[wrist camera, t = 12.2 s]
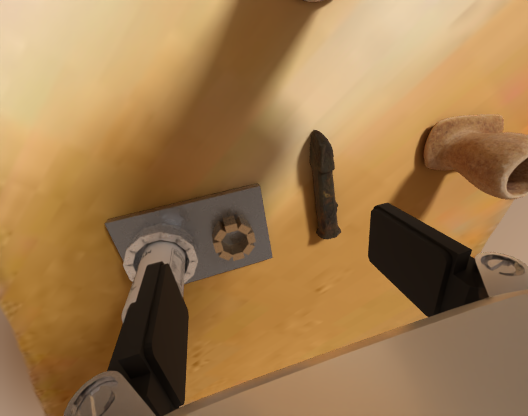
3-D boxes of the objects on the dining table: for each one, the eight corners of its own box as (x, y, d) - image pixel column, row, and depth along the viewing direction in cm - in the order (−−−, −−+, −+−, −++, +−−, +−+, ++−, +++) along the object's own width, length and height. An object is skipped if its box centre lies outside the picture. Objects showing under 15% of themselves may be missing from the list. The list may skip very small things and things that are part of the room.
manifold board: (257, 183, 39) (265, 191, 35) (270, 253, 45) (277, 267, 41) (108, 219, 35) (96, 233, 31) (142, 290, 41) (137, 310, 37)
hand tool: (332, 226, 47) (345, 238, 43) (314, 232, 46) (325, 244, 42) (328, 126, 39) (343, 128, 35) (305, 130, 39) (318, 133, 34)
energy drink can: (143, 234, 36) (114, 307, 23) (186, 233, 38) (181, 302, 24) (145, 267, 38) (119, 353, 25) (185, 266, 40) (181, 345, 26)
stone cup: (411, 179, 48) (496, 208, 34) (426, 115, 43) (531, 119, 30) (470, 173, 51) (567, 197, 38) (489, 113, 47) (609, 116, 33)
